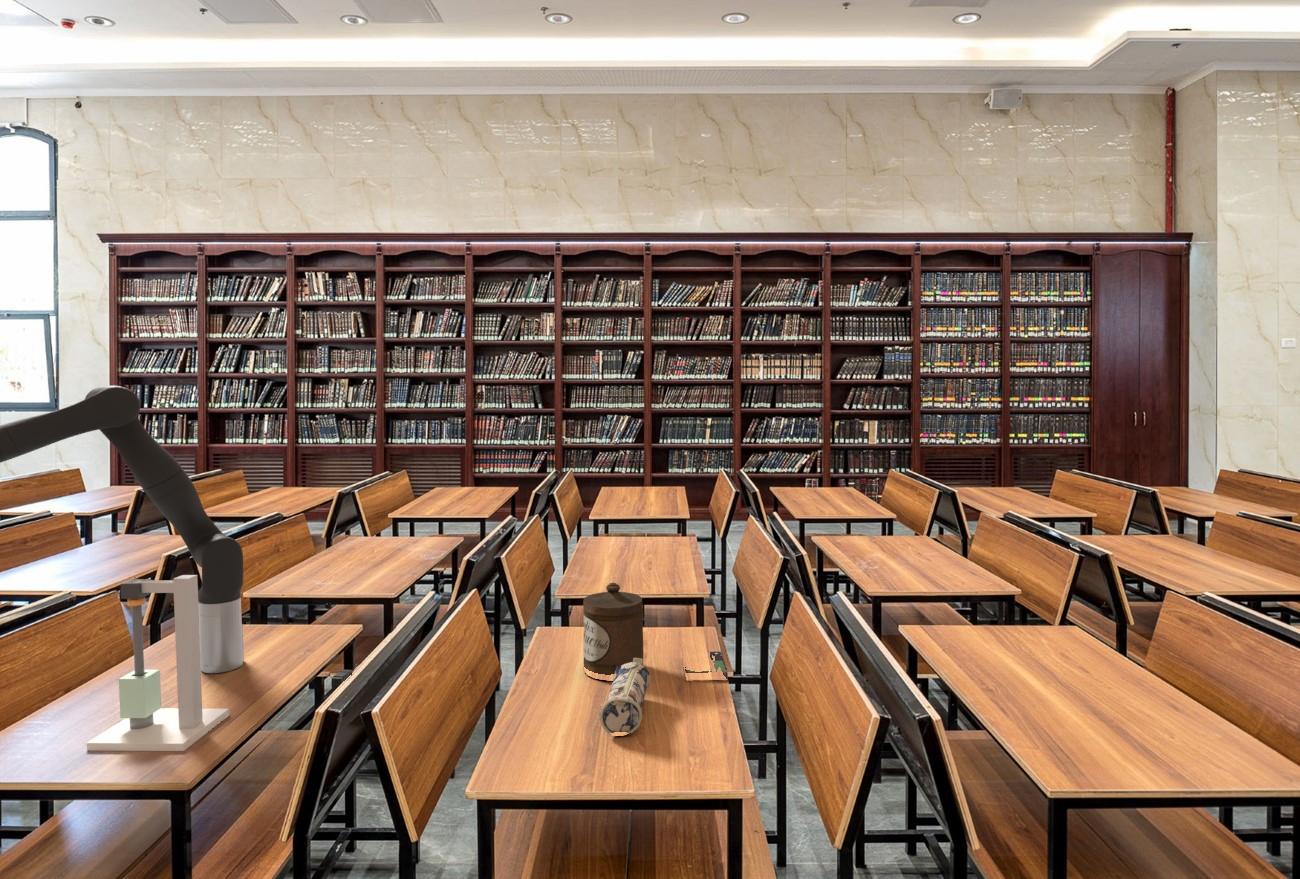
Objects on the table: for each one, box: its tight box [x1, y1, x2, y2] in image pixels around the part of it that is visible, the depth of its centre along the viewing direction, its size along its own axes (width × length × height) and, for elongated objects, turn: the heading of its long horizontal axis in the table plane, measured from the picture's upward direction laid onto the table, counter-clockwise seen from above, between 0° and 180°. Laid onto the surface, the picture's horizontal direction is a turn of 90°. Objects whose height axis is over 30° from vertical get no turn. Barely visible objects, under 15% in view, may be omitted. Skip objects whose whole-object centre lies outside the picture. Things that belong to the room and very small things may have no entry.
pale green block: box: [118, 669, 163, 719], centre depth 155 cm, size 5×5×8 cm
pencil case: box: [599, 658, 651, 734], centre depth 163 cm, size 22×8×10 cm, turn 175°
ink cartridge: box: [330, 669, 353, 692], centre depth 167 cm, size 5×2×8 cm, turn 173°
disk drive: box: [685, 651, 729, 682], centre depth 191 cm, size 10×3×15 cm
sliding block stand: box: [86, 574, 230, 752], centre depth 155 cm, size 16×19×32 cm
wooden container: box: [582, 582, 644, 675], centre depth 190 cm, size 15×15×22 cm
